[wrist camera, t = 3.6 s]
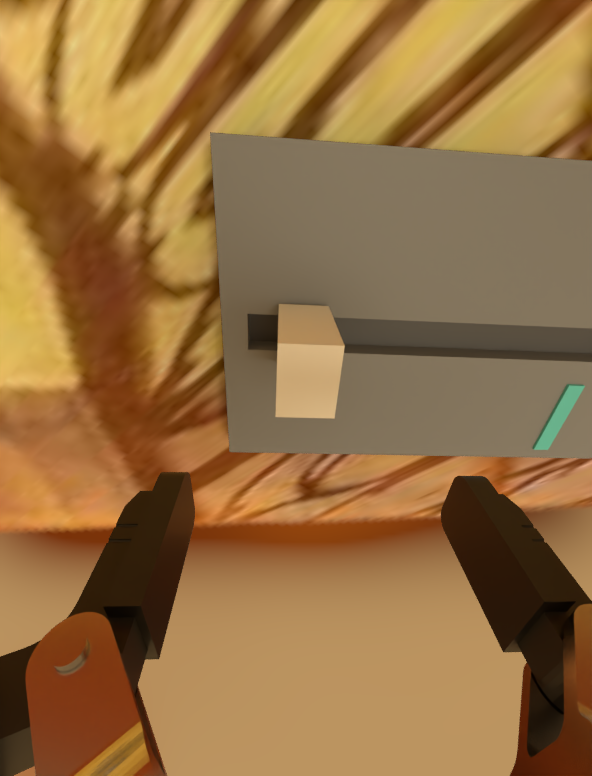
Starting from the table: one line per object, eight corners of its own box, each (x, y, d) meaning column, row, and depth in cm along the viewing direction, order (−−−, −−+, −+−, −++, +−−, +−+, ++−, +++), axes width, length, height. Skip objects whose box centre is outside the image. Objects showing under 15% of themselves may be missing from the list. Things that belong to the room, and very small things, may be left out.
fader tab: (278, 297, 21) (277, 343, 15) (326, 299, 21) (344, 345, 15) (277, 354, 23) (275, 416, 17) (320, 356, 23) (334, 418, 17)
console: (218, 139, 18) (209, 131, 16) (728, 176, 20) (788, 175, 17) (233, 432, 28) (229, 453, 26) (568, 439, 30) (592, 460, 28)
